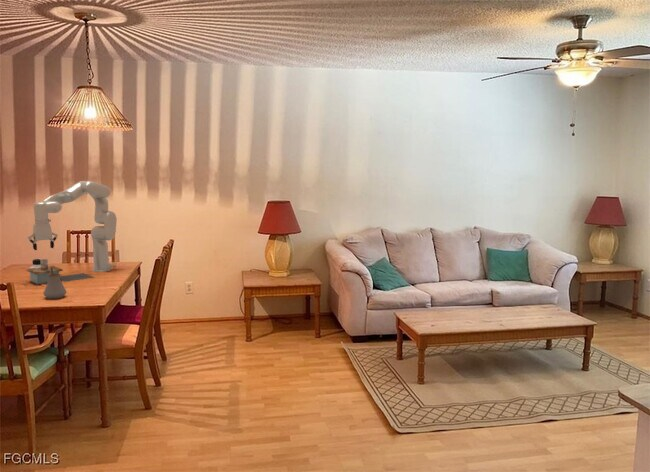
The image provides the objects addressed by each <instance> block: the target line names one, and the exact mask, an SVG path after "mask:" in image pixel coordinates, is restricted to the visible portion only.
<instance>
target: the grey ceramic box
mask: <svg viewBox="0 0 650 472" xmlns="http://www.w3.org/2000/svg"><path fill="white" fill-rule="evenodd" d="M53 273H54V274H60V271H59V272H53ZM50 274H51V273H43V274H33V273H31V272H29V278H30V279H29V281H30V283H33V284H34V285H37V286H38V285H39V286H41V285H44V284H47V283H48V281H49V277H48V275H50Z"/></svg>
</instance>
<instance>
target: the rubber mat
mask: <svg viewBox="0 0 650 472" xmlns="http://www.w3.org/2000/svg"><path fill="white" fill-rule="evenodd" d="M93 278H96V277H95V276H92V275H89V274H86V273H75V274H66V275H61V276H60V280H61V282H71V281H78V280H79V281H80V280H86V279H87V280H88V279H93Z"/></svg>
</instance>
